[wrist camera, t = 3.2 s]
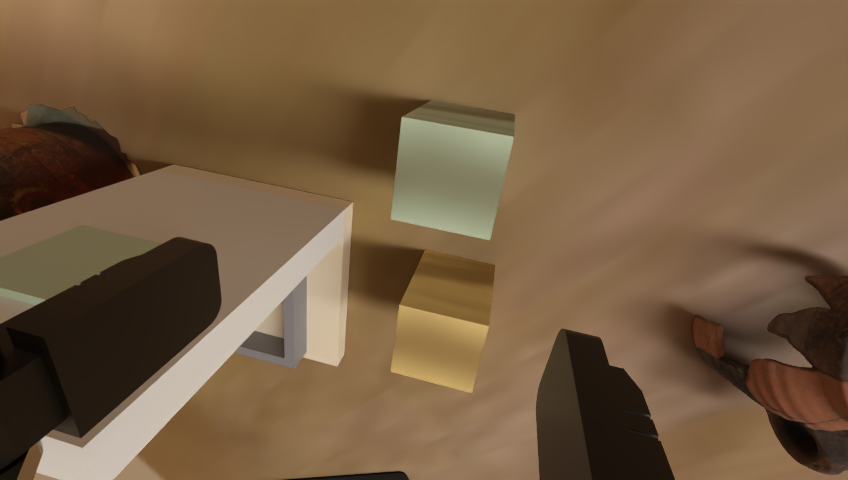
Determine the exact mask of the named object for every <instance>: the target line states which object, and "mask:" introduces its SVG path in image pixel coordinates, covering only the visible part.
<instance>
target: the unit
mask: <svg viewBox="0 0 848 480" xmlns="http://www.w3.org/2000/svg"><path fill="white" fill-rule="evenodd" d="M352 214H353V202H351V201H346V200H342V199H337V198H332V197H327V196H323V195H318V194H313V193H308V192H303V191H299V190H294V189H289V188H284V187H280V186H275V185H270V184H265V183H260V182H256V181H251V180H246V179H241V178H237V177H232V176H227V175H222V174H217V173H213V172H208V171H203V170H198V169H194V168H189V167H184V166H179V165H171V166H168V167H165V168H162V169H159V170H156V171H153V172H150V173H146V174H143V175H140V176H137V177H134V178H131V179H128V180H125V181H122V182H119V183H116V184H113V185H110V186H106V187H103V188H100V189H97V190H94V191H91V192H88V193H85V194H82V195H79V196H76V197H73V198H70V199H66V200H63V201H60V202H57V203H54V204H51V205H48V206H45V207H42V208H39V209H36V210H33V211H30V212H26V213H23V214H20V215H17V216H14V217H11V218H8V219H5V220H2V221H0V324H1V323H3V322H5V321H6V320H8V319H10V318H12V317H14V316H16V315H18V314H20V313H22V312H24V311H26V310H28V309H30V308H32V307H34V306H35V305H37V304H39V303H41V302H43V301H45V300H47V299H49V298H51V297H53V296H55V295H57V294H59V293H61V292H63V291H64V290H66V289H68V288H70V287H72V286H74V285H78V286H79V285H80V284H81V282H82V281H84V280H86V279H88V278H90V277H92V276H93V275H95V274H96V275H100V272H101V271H103V270H105V269H107V268H109V267H111V266H113V265H115V264H117V263H119V262H121V261H122V260H125V259H128V258H132V257H135V256H139V255H142V254H144V253H146V252H148V251H150V250H151V249H153V248H155V247H157V246H159V245H161V244H163V243H165V242H167V241H169V240H170V239H172V238H175V237H183V238H187V239H192V240H196V241H200V242H204V243H208V244H211V245H213V246H214V248H215V249H216V252H217V260H218V269H219V279H220V288H221V297H222V302H221V308H220V311H219V313H218V315H217V317H216V319H215V320H214V322H213V323H212V324H211V325H210V326H209V327H208V328H206V329H205V330H204V331H203V332H202V333H201V334H200V335H198V336H197V337H196V338H195V339H194V340H193V341H192V342H190V343H189V344H188V345H187V346H186V347H185V348H184V349H183V350H181V351H180V352H179V353H178V354H177V355H176V356H175V357H173V358H172V359H171V360H170V361H169V362H168V363H167V364H165V365H164V366H163V367H162V368H161V369H160V370H159V371H157V372H156V373H155V374H154V375H153V376H152V377H151V378H149V379H148V380H147V381H146V382H145V383H144V384H143V385H141V386H140V387H139V388H138V389H137V390H136V391H135V392H133V393H132V394H131V395H130V396H129V397H128V398H127V399H125V400H124V401H123V402H122V403H121V404H120V405H119V406H118V407H116V408H115V409H114V410H113V411H112V412H111V413H110V414H108V415H107V416H106V417H105V418H104V419H103V420H102V421H100V422H99V423H98V424H97V425H96V426H95V427H94V428H92V429H91V430H90V431H89V432H88V433H87V434H86V435H84V436H83V437H82V438H78V437H74V436H71V435H68V434H65V433H62V432H59V431H56V430H52V431H51V432H50V433H48V434H47V435H46V436H45V437H43V438H42V439H41V442H42V444H43V454H42V457H41V460H40V463H39V465H38V468H37V471H36V472H37V473H40V474H43V475H46V476H49V477H52V478H55V479H58V480H113V479H115V478H116V476H117V475H118V474H119V473H120V472H121V471H122V470H123V469H124V468H125V467H126V466H127V465H128V464H129V463H130V462H131V460H133V458H134V457H135V456H136V455H137V454H138V453H139V452H140V451H141V450H142V449H143V448H144V447H145V446H146V445H147V444H148V443H149V442H150V441H151V439H152V438H153V437H154V436H155V435H156V434H157V433H158V432H159V431H160V430H161V429H162V428H163V427H164V426H165V425H166V424H167V423H168V421H169V420H170V419H171V418H172V417H173V416H174V415H175V414H176V413H177V412H178V411H179V410H180V409H181V408H182V407H183V406H184V405H185V403H186V402H187V401H188V400H189V399H190V398H191V397H192V396H193V395H194V394H195V393H196V392H197V391H198V390H199V389H200V388H201V387H202V386H203V384H204V383H205V382H206V381H207V380H208V379H209V378H210V377H211V376H212V375H213V374H214V373H215V372H216V371H217V370H218V369H219V368H220V366H221V365H222V364H223V363H224V362H225V361H226V360H227V359H228V358H229V357H230V356H231V355H232V354H233V353H238V354H241V355H245V356H249V357H252V358H256V359H260V360H263V361H267V362H271V363H275V364H278V365H282V366H286V367H289V368H293V369H295V368H296V366H297V365H298V363H299V362H300V360H301V359H302V358H303V357H304V358H308V359H311V360H315V361H319V362H323V363H326V364H330V365H334V366H338V364H339V363H340V361H341V359H342V357H343V356H344V351H345V333H346V316H347V299H348V282H349V265H350V248H351V231H352Z"/></svg>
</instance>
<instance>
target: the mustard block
mask: <svg viewBox="0 0 848 480" xmlns="http://www.w3.org/2000/svg"><path fill="white" fill-rule="evenodd" d="M494 272H495V265H492V264H487V263H483V262H478V261H473V260H469V259H464V258H460V257H455V256H451V255H446V254H442V253H437V252H433V251H428V250H425V251H424V253H423V255H422V258H421V260H420V262H419V264H418V266H417V268H416V270H415V273H414V275H413V277H412V279H411V281H410V283H409V285H408V288H407V290H406V292H405V294H404V296H403V298H402V300H401V303H400V305H399V312H398V320H397V327H396V335H395V343H394V350H393V358H392V366H391V372H394V373H398V374H401V375H405V376H409V377H413V378H417V379H420V380H424V381H428V382H432V383H436V384H439V385H443V386H447V387H451V388H455V389H458V390H462V391H466V392H470V393H472V390H473V386H474V382H475V378H476V374H477V371H478V367H479V363H480V359H481V355H482V351H483V348H484V344H485V340H486V336H487V332H488V328H489V322H490V312H491V302H492V292H493V282H494Z"/></svg>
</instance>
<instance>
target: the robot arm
mask: <svg viewBox="0 0 848 480" xmlns="http://www.w3.org/2000/svg"><path fill="white" fill-rule="evenodd" d="M221 302H222V297H221V288H220V279H219V269H218V260H217V252H216V249H215V248H214V246H213V245H211V244H208V243H204V242H200V241H196V240H192V239H187V238H183V237H175V238H172V239H170V240H169V241H167V242H165V243H163V244H161V245H159V246H157V247H155V248H153V249H151V250H150V251H148V252H146V253H144V254H142V255H139V256H135V257H132V258H128V259H125V260H122V261H121V262H119V263H117V264H115V265H113V266H111V267H109V268H107V269H105V270H103V271H101V272H100V275H96V274H95V275H93V276H92V277H90V278H88V279H86V280H84V281H82V282H81V284H80V285H79V286H78V285H74V286H72V287H70V288H68V289H66V290H64V291H63V292H61V293H59V294H57V295H55V296H53V297H51V298H49V299H47V300H45V301H43V302H41V303H39V304H37V305H35V306H34V307H32V308H30V309H28V310H26V311H24V312H22V313H20V314H18V315H16V316H14V317H12V318H10V319H8V320H6V321H5V322H3V323H1V324H0V480H33V479H34V476H35V473H36V471H37V468H38V465H39V463H40V460H41V457H42V454H43V444H42V442H41V439H42V438H43V437H45V436H46V435H47V434H48V433H50V432H51V431H52V430H56V431H59V432H62V433H65V434H68V435H71V436H74V437H78V438H82V437H83V436H84V435H86V434H87V433H88V432H89V431H90V430H91V429H92V428H94V427H95V426H96V425H97V424H98V423H99V422H100V421H102V420H103V419H104V418H105V417H106V416H107V415H108V414H110V413H111V412H112V411H113V410H114V409H115V408H116V407H118V406H119V405H120V404H121V403H122V402H123V401H124V400H125V399H127V398H128V397H129V396H130V395H131V394H132V393H133V392H135V391H136V390H137V389H138V388H139V387H140V386H141V385H143V384H144V383H145V382H146V381H147V380H148V379H149V378H151V377H152V376H153V375H154V374H155V373H156V372H157V371H159V370H160V369H161V368H162V367H163V366H164V365H165V364H167V363H168V362H169V361H170V360H171V359H172V358H173V357H175V356H176V355H177V354H178V353H179V352H180V351H181V350H183V349H184V348H185V347H186V346H187V345H188V344H189V343H190V342H192V341H193V340H194V339H195V338H196V337H197V336H198V335H200V334H201V333H202V332H203V331H204V330H205V329H206V328H208V327H209V326H210V325H211V324H212V323H213V322H214V320H215V319H216V317H217V315H218V313H219V311H220V308H221ZM650 416H651V414H650V412H649V409H648V406H647V404H646V401H645V398H644V396H643V393H642V391H641V390H640V388H639V387H638V386H637V385H636V384H635V382H634V381H633V380H632V379H631V377H630V376H629V375H628V374H627V372H626V371H625V370H624V369H622V368H618V367H614V366H610V365H609V363H608V359H607V356H606V353H605V349H604V346H603V343H602V340H601V339H600V338H599V337H596V336H592V335H588V334H583V333H579V332H575V331H571V330H567V329H561V330H560V331H559V333H558V335H557V338H556V340H555V343H554V346H553V348H552V351H551V354H550V357H549V360H548V362H547V365H546V368H545V371H544V373H543V376H542V379H541V382H540V385H539V389H538V394H537V402H536V421H537V439H538V457H539V475H540V480H675V478H674V476H673V473H672V470H671V468H670V465H669V462H668V460H667V457H666V454H665V452H664V449H663V446H662V444H661V441H658V433H657V430H656V428H655V425H654V422H653V420H651V419H650Z"/></svg>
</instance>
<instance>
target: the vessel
mask: <svg viewBox="0 0 848 480" xmlns="http://www.w3.org/2000/svg"><path fill="white" fill-rule="evenodd" d="M20 116H21V119H22V121H23V124H24V125H20V124H14V123H12V128H6V129H0V221H2V220H5V219H8V218H11V217H14V216H17V215H20V214H23V213H26V212H30V211H33V210H36V209H39V208H42V207H45V206H48V205H51V204H54V203H57V202H60V201H63V200H66V199H70V198H73V197H76V196H79V195H82V194H85V193H88V192H91V191H94V190H97V189H100V188H103V187H106V186H110V185H113V184H116V183H119V182H122V181H125V180H128V179H131V178H134V177H137V176H140V174H139V171H138V169H137V167H136V165H135V164H133V163H132V162H130V161H129V160H127V159H126V154H124V153H120V148H119V144H118V140H117V139H116V138H115V137H113V136H111V135H109V134H108V133H107V132H106V131H105V130H104V129H103V128H102V127H101V126H100V125H99V124H98V123H97V122H96V121H94V122H92V123H91V122H90V121H89V120H88V118H87V117H86V116H85V115H83V114H81V113H78V112H76V110H75V108H74V107H70V108H67V109H64V110H61V111H60V110H57V109H53V108H50V107H47V106H43V105H30V106H29V107H28V108H27V110H26V111H24V112H22V113H20Z"/></svg>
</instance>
